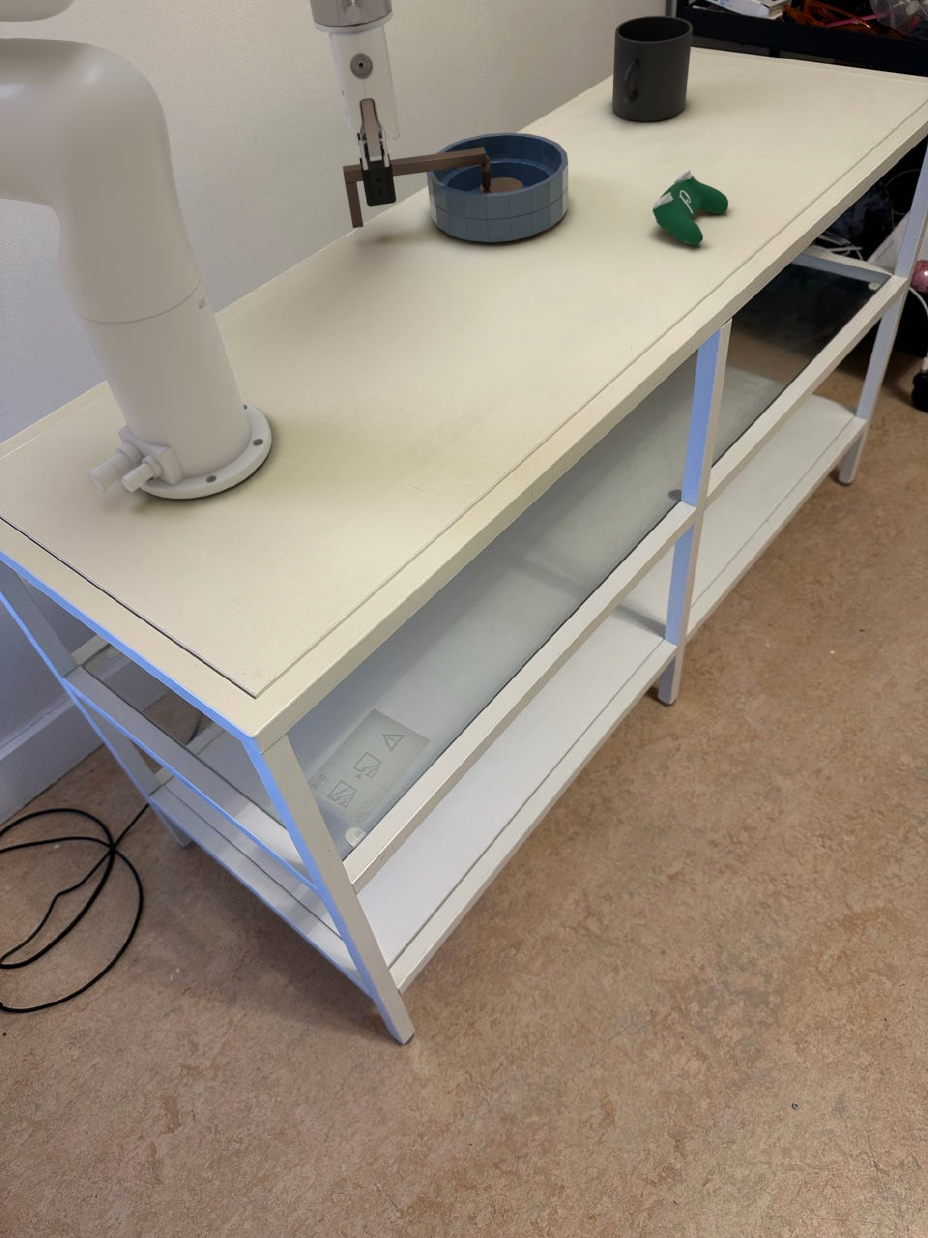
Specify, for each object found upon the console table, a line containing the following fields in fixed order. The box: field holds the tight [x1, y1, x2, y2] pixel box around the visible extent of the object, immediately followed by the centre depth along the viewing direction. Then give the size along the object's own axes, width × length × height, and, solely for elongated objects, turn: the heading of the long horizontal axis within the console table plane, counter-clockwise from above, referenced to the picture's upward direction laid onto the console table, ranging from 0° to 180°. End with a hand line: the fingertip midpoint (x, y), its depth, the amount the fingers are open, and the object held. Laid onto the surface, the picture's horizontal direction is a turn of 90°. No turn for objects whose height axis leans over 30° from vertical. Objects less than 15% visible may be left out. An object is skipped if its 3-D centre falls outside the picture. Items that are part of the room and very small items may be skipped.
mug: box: [611, 15, 694, 122], centre depth 113 cm, size 9×12×9 cm
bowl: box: [426, 131, 569, 243], centre depth 100 cm, size 15×15×6 cm
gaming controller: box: [652, 169, 729, 247], centre depth 96 cm, size 9×4×6 cm
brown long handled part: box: [342, 147, 523, 229], centre depth 98 cm, size 19×5×6 cm, turn 98°
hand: (380, 197), depth 98 cm, fingers closed on brown long handled part, 1 cm apart
